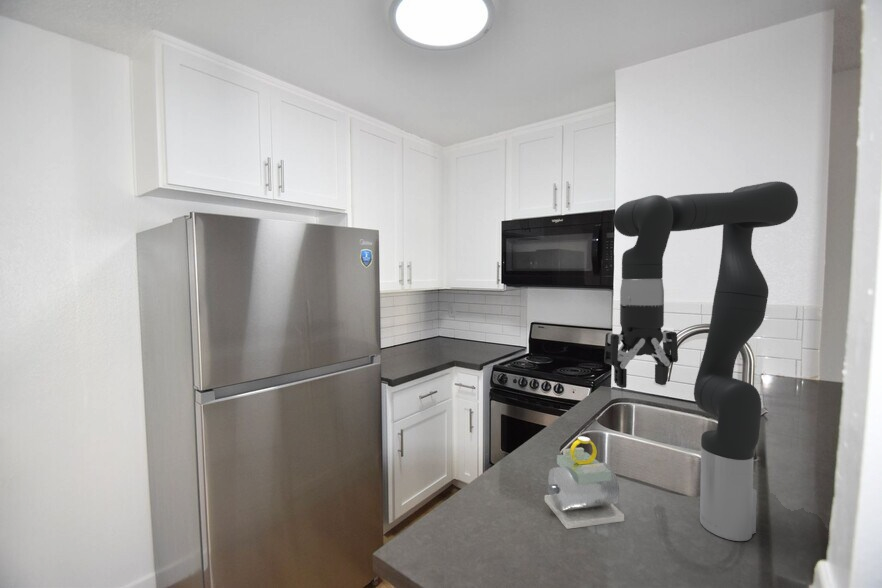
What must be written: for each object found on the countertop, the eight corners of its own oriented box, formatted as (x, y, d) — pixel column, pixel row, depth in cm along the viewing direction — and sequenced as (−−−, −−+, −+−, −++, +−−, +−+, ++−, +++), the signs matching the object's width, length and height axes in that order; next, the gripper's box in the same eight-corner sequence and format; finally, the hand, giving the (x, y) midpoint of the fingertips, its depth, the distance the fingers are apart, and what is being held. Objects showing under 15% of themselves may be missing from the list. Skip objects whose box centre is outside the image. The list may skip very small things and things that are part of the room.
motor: (596, 494, 99) (596, 444, 99) (624, 521, 88) (624, 464, 88) (539, 501, 96) (539, 449, 96) (560, 529, 86) (560, 471, 85)
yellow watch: (591, 460, 94) (593, 436, 94) (597, 466, 91) (599, 440, 91) (567, 460, 93) (569, 435, 93) (573, 466, 90) (575, 440, 90)
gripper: (660, 300, 81) (659, 378, 81) (596, 302, 78) (596, 382, 79) (689, 302, 73) (688, 388, 74) (620, 304, 71) (619, 393, 71)
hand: (640, 385), depth 76 cm, fingers open, 8 cm apart
